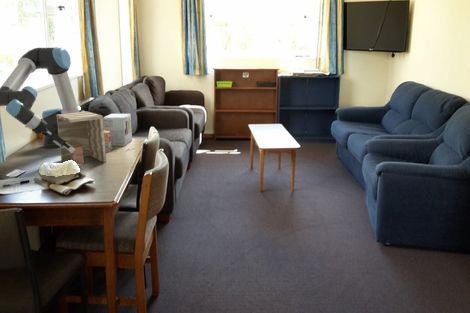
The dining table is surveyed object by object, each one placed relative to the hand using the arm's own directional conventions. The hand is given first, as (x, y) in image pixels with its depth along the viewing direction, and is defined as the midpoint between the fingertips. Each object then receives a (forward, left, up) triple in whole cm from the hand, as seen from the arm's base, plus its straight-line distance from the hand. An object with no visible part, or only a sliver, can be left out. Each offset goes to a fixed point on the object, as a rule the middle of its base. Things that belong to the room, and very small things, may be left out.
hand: (68, 148), depth 244 cm
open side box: (-4, +9, -9) cm, 13 cm away
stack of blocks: (-24, +22, -9) cm, 34 cm away
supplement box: (-34, +44, -9) cm, 56 cm away
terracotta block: (-1, +4, -9) cm, 10 cm away
